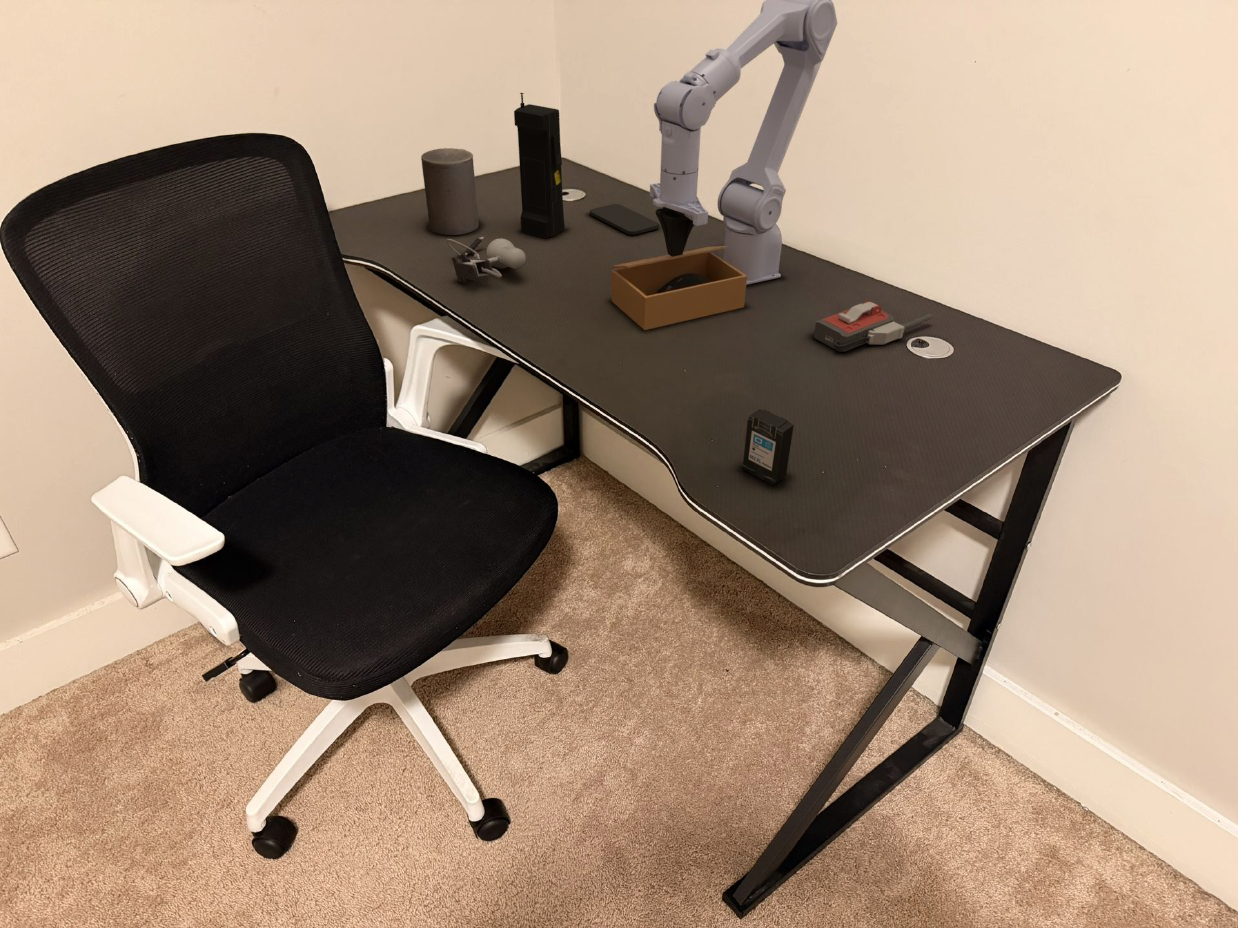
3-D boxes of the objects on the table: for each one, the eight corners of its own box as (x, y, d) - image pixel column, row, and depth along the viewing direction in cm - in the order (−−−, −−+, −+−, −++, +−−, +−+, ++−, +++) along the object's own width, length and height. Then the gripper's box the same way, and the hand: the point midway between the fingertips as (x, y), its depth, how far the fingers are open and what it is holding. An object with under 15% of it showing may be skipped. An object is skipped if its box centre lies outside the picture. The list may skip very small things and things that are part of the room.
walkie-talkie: (847, 362, 127) (935, 326, 136) (852, 335, 124) (941, 301, 134) (804, 339, 133) (891, 306, 142) (808, 312, 130) (896, 281, 140)
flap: (627, 267, 134) (627, 265, 134) (612, 267, 139) (612, 265, 139) (727, 247, 141) (727, 246, 141) (709, 248, 146) (709, 246, 146)
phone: (617, 203, 178) (661, 224, 168) (617, 207, 179) (661, 228, 169) (587, 210, 175) (630, 232, 165) (587, 214, 175) (630, 236, 165)
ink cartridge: (741, 469, 106) (747, 414, 101) (752, 461, 107) (759, 406, 102) (774, 486, 103) (782, 430, 98) (785, 478, 104) (794, 422, 99)
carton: (644, 330, 135) (645, 297, 132) (611, 301, 143) (611, 270, 140) (744, 307, 142) (747, 275, 138) (707, 280, 150) (709, 250, 147)
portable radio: (571, 230, 168) (567, 94, 153) (552, 240, 164) (547, 101, 149) (538, 222, 171) (532, 88, 157) (519, 232, 167) (511, 95, 153)
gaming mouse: (630, 306, 140) (631, 283, 138) (699, 284, 148) (701, 262, 145) (655, 321, 136) (655, 297, 134) (724, 297, 143) (726, 274, 141)
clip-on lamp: (439, 274, 158) (473, 291, 143) (429, 240, 155) (462, 253, 140) (498, 256, 162) (536, 270, 147) (489, 222, 159) (527, 233, 145)
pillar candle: (419, 231, 167) (409, 152, 158) (446, 215, 174) (438, 138, 166) (463, 239, 164) (455, 158, 155) (488, 222, 172) (482, 144, 163)
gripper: (633, 159, 134) (632, 242, 142) (680, 186, 124) (676, 275, 132) (673, 153, 137) (669, 235, 145) (722, 180, 126) (715, 267, 135)
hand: (675, 254), depth 139 cm, fingers closed
